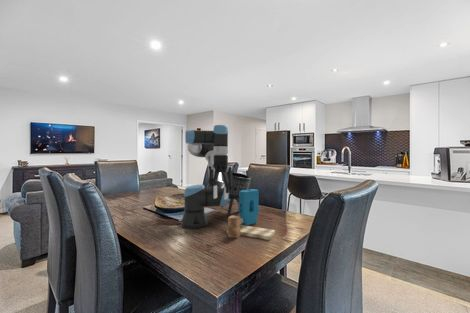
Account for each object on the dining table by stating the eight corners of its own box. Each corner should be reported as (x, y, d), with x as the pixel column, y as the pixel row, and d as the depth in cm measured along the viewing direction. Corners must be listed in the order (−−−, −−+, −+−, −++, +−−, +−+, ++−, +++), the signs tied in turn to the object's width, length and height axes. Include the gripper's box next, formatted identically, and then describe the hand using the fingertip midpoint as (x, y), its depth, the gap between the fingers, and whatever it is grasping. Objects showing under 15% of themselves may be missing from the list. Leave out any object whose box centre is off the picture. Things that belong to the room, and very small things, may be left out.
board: (226, 232, 121) (226, 229, 121) (234, 226, 130) (234, 223, 130) (269, 240, 111) (269, 236, 111) (275, 233, 120) (275, 229, 120)
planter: (210, 207, 158) (218, 171, 156) (227, 204, 174) (234, 171, 172) (233, 218, 147) (241, 178, 145) (248, 213, 163) (256, 178, 161)
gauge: (227, 237, 115) (227, 217, 115) (237, 229, 126) (237, 211, 125) (236, 238, 113) (236, 218, 112) (245, 231, 124) (245, 212, 123)
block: (243, 226, 132) (243, 192, 131) (238, 223, 136) (238, 190, 135) (259, 222, 139) (259, 190, 138) (253, 220, 143) (254, 189, 142)
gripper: (201, 154, 119) (201, 198, 120) (233, 154, 111) (233, 201, 112) (209, 154, 126) (209, 195, 126) (239, 154, 118) (239, 198, 118)
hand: (220, 198), depth 119 cm, fingers open, 6 cm apart
